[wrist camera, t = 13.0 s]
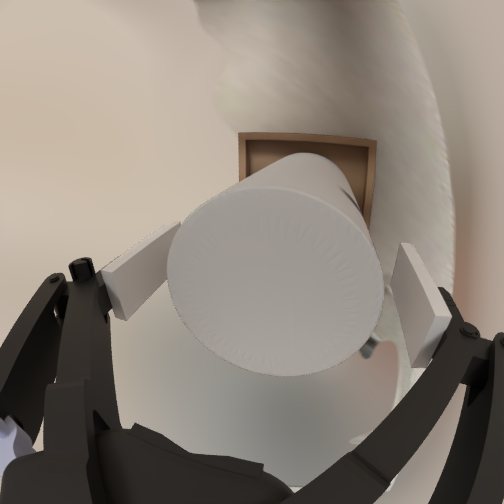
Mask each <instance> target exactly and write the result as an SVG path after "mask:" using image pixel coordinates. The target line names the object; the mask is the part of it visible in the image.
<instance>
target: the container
mask: <svg viewBox="0 0 504 504" xmlns="http://www.w3.org/2000/svg"><path fill="white" fill-rule="evenodd" d="M167 280H168V287H169V291H170V295H171V298H172V301H173V304H174V306H175V308H176V310H177V312H178V314H179V316H180V318H181V319H182V321H183V323H184V324H185V325H186V327H187V328H188V329H189V330H190V332H191V333H192V334H193V335H194V336H195V337H196V339H198V341H200V342H201V343H202V344H203V345H204V346H205V347H206V348H207V349H209V350H210V351H212V352H213V353H214V354H216V355H217V356H219V357H220V358H222V359H224V360H225V361H227V362H229V363H231V364H233V365H236V366H238V367H240V368H243V369H245V370H249V371H252V372H255V373H259V374H265V375H271V376H282V377H288V376H289V377H292V376H303V375H308V374H314V373H318V372H321V371H324V370H326V369H329V368H332V367H334V366H336V365H338V364H340V363H342V362H343V361H345V360H346V359H348V358H349V357H351V356H352V355H353V354H354V353H356V352H357V351H358V350H359V349H360V348H361V347H362V346H363V345H364V344H365V342H366V341H367V340H368V339H369V337H370V336H371V334H372V333H373V331H374V329H375V327H376V325H377V323H378V321H379V318H380V315H381V312H382V308H383V302H384V279H383V274H382V269H381V266H380V263H379V260H378V257H377V254H376V251H375V248H374V245H373V242H372V240H371V237H370V234H369V232H368V229H367V226H366V224H365V221H364V219H363V216H362V214H361V211H360V209H359V206H358V204H357V201H356V199H355V197H354V194H353V192H352V190H351V187H350V185H349V183H348V181H347V178H346V177H345V175H344V173H343V172H342V171H341V169H340V168H339V167H338V166H337V165H336V164H335V163H333V162H332V161H331V160H329V159H327V158H325V157H323V156H321V155H318V154H314V153H295V154H291V155H288V156H286V157H284V158H282V159H280V160H278V161H276V162H274V163H272V164H271V165H269V166H267V167H265V168H263V169H261V170H260V171H258V172H256V173H254V174H252V175H251V176H249V177H247V178H245V179H244V180H242V181H240V182H238V183H237V184H235V185H233V186H231V187H230V188H228V189H226V190H225V191H223V192H221V193H220V194H218V195H216V196H215V197H213V198H211V199H210V200H208V201H206V202H205V203H203V204H202V205H200V206H199V207H198V208H197V209H195V210H194V211H193V212H192V213H191V214H190V215H189V216H188V217H187V218H186V220H185V221H184V222H183V223H182V225H181V226H180V228H179V229H178V231H177V233H176V235H175V237H174V239H173V241H172V244H171V247H170V250H169V255H168V261H167Z"/></svg>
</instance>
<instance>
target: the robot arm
mask: <svg viewBox="0 0 504 504" xmlns="http://www.w3.org/2000/svg"><path fill="white" fill-rule="evenodd" d="M180 226H181V223H180V222H178V221H169V222H168V223H166V224H165V225H163V226H162V227H160V228H159V229H157V230H156V231H154V232H153V233H152V234H150V235H149V236H147V237H146V238H144V239H143V240H142V241H140V242H139V243H137V244H136V245H134V246H133V247H131V248H130V249H129V250H127V251H126V252H124V253H123V254H122V255H120V256H118V257H117V258H116V259H114V261H112V262H110V263H109V264H108V265H106V266H105V267H103V268H102V269H101V270H99V271H98V272H97V273H95V270H94V266H93V263H92V259H91V258H87V257H84V258H80V259H77V260H75V261H73V262H72V263H70V264H69V270H70V273H71V276H72V279H73V281H72V282H66V279H65V276H64V274H63V273H54V274H52V275H50V276H49V277H47V278H46V279H45V281H44V282H43V283H42V285H41V286H40V287H39V289H38V290H37V291H36V293H35V294H34V296H33V297H32V298H31V300H30V301H29V303H28V304H27V306H26V307H25V309H24V310H23V312H22V313H21V315H20V316H19V318H18V319H17V321H16V323H15V324H14V326H13V327H12V329H11V331H10V332H9V334H8V336H7V337H6V339H5V341H4V342H3V344H2V346H1V348H0V477H1V478H2V484H1V492H0V504H373V503H374V502H375V501H376V500H377V499H378V498H379V497H380V496H381V495H382V494H383V493H384V492H385V491H386V489H387V488H388V487H389V486H390V482H391V481H392V480H393V478H394V477H395V476H396V475H397V474H398V473H399V472H400V470H401V469H402V468H403V467H404V466H405V464H406V463H407V462H408V460H410V458H411V457H412V456H413V454H414V453H415V452H416V451H417V449H418V448H419V446H420V445H421V444H422V443H423V441H424V440H425V438H426V437H427V436H428V434H429V433H430V431H431V430H432V428H433V427H434V425H435V424H436V422H437V421H438V419H439V418H440V416H441V415H442V413H443V411H444V410H445V408H446V406H447V405H448V403H449V401H450V400H451V398H452V396H453V394H454V393H455V391H456V389H457V387H458V385H459V383H462V384H465V385H467V386H466V392H465V397H464V402H463V406H462V410H461V415H460V418H459V422H458V426H457V430H456V433H455V437H454V440H453V443H452V446H451V449H450V452H449V455H448V458H447V461H446V464H445V466H444V469H443V472H442V474H441V476H440V479H439V481H438V483H437V486H436V488H435V491H434V493H433V495H432V497H431V499H430V501H429V503H428V504H502V502H503V499H504V333H503V332H500V333H497V335H495V337H494V339H493V341H491V340H487V339H483V338H481V337H480V333H479V331H478V329H477V328H476V327H475V326H473V325H472V324H470V323H467V322H464V320H463V318H462V316H461V314H460V312H459V310H458V308H457V307H456V304H455V302H454V301H453V299H452V297H451V295H450V293H449V292H447V291H446V290H445V289H444V288H443V287H437V286H436V284H435V282H434V280H433V278H432V277H431V275H430V273H429V271H428V269H427V268H426V266H425V264H424V262H423V261H422V259H421V257H420V256H419V254H418V252H417V251H416V249H415V247H414V246H413V244H410V243H402V242H400V245H399V250H398V255H397V259H396V264H395V268H394V272H393V276H392V280H391V284H390V285H391V289H392V292H393V295H394V299H395V302H396V306H397V310H398V313H399V317H400V321H401V325H402V329H403V333H404V337H405V341H406V346H407V350H408V355H409V359H410V364H411V368H426V370H425V371H424V372H423V374H422V375H421V376H420V378H419V379H418V380H417V382H416V383H415V384H414V385H413V387H412V388H411V389H410V390H409V392H408V393H407V394H406V395H405V397H404V398H403V399H402V400H401V401H400V402H399V404H398V405H397V406H396V407H395V408H394V409H393V410H392V412H391V413H390V414H389V415H388V416H387V417H386V418H385V419H384V420H383V421H382V423H381V424H380V425H379V426H378V427H377V428H376V429H375V430H374V431H373V432H372V433H371V434H370V435H369V436H368V437H367V438H366V439H365V440H364V441H363V442H361V443H360V444H359V445H358V446H357V447H356V448H355V449H354V450H353V451H351V452H348V453H347V454H346V455H344V456H343V457H342V458H341V459H339V460H338V461H337V462H336V463H335V464H333V465H332V466H331V467H330V468H328V469H327V470H326V471H325V472H323V473H322V474H321V475H319V476H318V477H317V478H315V479H314V480H313V481H311V482H310V483H309V484H308V485H306V486H304V487H303V488H302V489H300V490H299V491H297V492H296V493H293V491H292V490H291V489H290V488H289V487H288V486H287V485H286V484H285V483H283V482H282V481H281V480H279V479H278V478H276V477H274V476H273V475H271V474H269V473H266V472H264V471H263V467H264V464H261V463H256V462H251V461H247V460H242V459H238V458H234V457H230V456H217V455H204V454H194V453H189V452H188V451H186V450H184V449H183V448H181V447H180V446H178V445H177V444H175V443H174V442H172V441H171V440H169V439H168V438H167V437H165V436H164V435H162V434H160V433H158V432H155V431H153V430H150V429H148V428H146V427H143V426H141V425H139V424H137V423H134V425H133V426H132V428H131V429H122V426H121V424H120V420H119V413H118V406H117V400H116V393H115V384H114V375H113V364H112V351H111V332H110V317H109V314H108V312H109V311H110V310H111V309H113V312H114V314H115V317H116V318H119V319H122V320H125V321H127V320H128V319H129V318H130V317H131V316H132V315H133V314H134V313H135V312H136V311H137V310H138V308H139V307H140V306H141V305H142V304H143V303H144V302H145V301H146V300H147V299H148V298H149V297H150V296H151V295H152V294H153V293H154V292H155V291H156V290H157V289H158V288H159V287H160V286H161V285H162V284H163V283H164V282H165V280H167V261H168V255H169V250H170V247H171V244H172V241H173V239H174V237H175V235H176V233H177V231H178V229H179V228H180ZM54 310H55V312H56V314H57V315H56V317H55V314H54ZM431 359H433V360H432V361H431ZM430 361H431V363H430V364H429V362H430ZM428 364H429V366H428ZM427 366H428V367H427ZM55 378H56V383H54V381H55ZM43 417H44V427H43V428H44V429H43V430H44V431H43V444H44V450H43V451H39V452H36V451H35V450H34V449H33V448H32V446H33V445H34V443H35V441H36V438H37V436H38V433H39V431H40V427H41V424H42V421H43Z"/></svg>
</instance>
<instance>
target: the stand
mask: <svg viewBox="0 0 504 504" xmlns="http://www.w3.org/2000/svg"><path fill="white" fill-rule="evenodd" d="M238 139H239V182H240V181H242V180H244V179H245V178H247V177H249V176H251V175H252V174H254V173H256V172H258V171H260V170H261V169H263V168H265V167H267V166H269V165H271V164H272V163H274V162H276V161H278V160H280V159H282V158H284V157H286V156H288V155H291V154H295V153H314V154H318V155H321V156H323V157H325V158H327V159H329V160H331V161H332V162H333V163H335V164H336V165H337V166H338V167H339V168H340V169H341V171H342V172H343V173H344V175H345V177H346V178H347V181H348V183H349V185H350V187H351V190H352V192H353V194H354V197H355V199H356V201H357V204H358V206H359V209H360V211H361V214H362V216H363V219H364V221H365V224H366V226H367V229H369V222H370V214H371V206H372V197H373V187H374V177H375V164H376V148H377V141H376V140H368V139H360V138H351V137H342V136H330V135H317V134H300V133H264V132H251V133H238Z"/></svg>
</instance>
